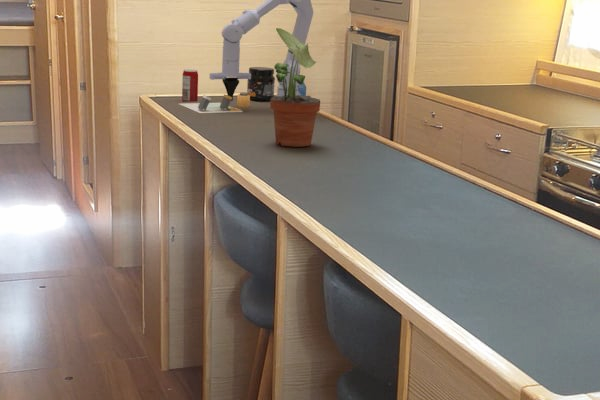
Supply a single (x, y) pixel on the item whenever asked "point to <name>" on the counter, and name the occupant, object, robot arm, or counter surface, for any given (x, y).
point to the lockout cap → (243, 100)
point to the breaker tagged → (225, 102)
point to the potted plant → (294, 99)
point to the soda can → (190, 86)
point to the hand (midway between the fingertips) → (229, 100)
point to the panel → (210, 108)
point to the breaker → (204, 103)
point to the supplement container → (261, 84)
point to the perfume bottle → (302, 89)
